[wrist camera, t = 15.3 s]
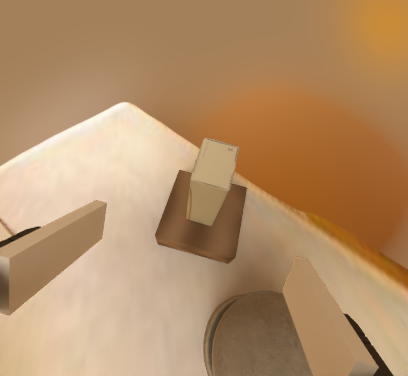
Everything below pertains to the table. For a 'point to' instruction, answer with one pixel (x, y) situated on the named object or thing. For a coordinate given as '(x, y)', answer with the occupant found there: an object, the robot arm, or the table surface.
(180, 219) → the walnut plinth
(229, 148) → the skincare box
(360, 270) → the table surface
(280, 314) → the webcam
